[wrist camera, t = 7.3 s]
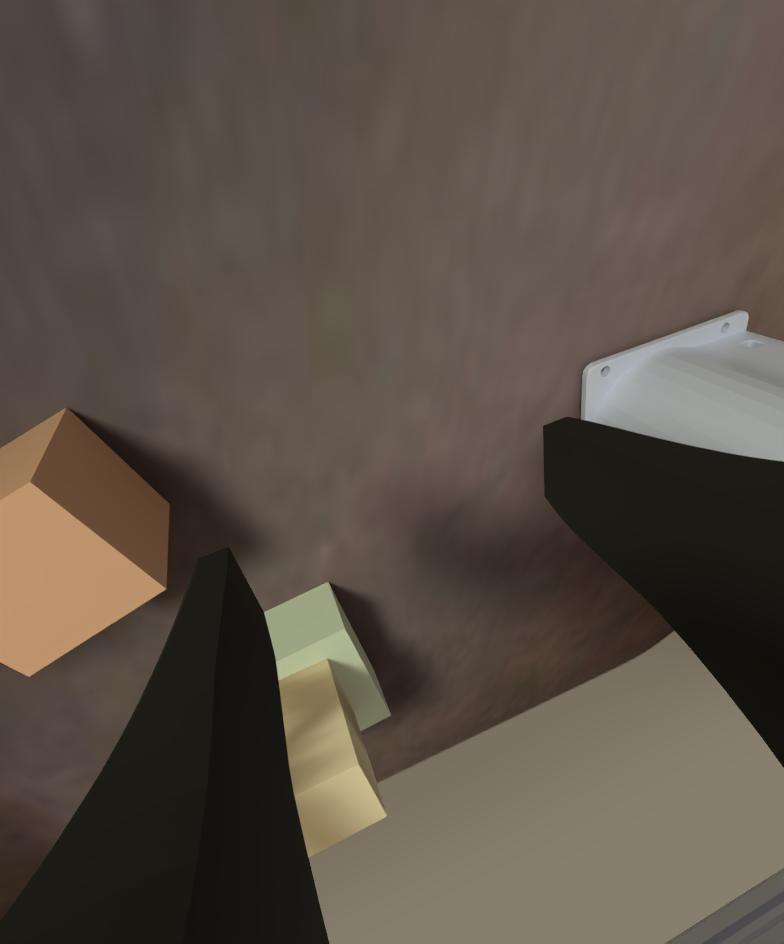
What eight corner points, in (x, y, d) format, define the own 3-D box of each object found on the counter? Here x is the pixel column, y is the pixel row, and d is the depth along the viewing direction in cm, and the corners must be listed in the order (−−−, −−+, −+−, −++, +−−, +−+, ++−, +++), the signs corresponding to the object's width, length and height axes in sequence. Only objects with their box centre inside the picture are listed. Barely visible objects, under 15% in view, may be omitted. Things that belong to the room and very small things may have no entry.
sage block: (326, 576, 25) (344, 628, 22) (371, 663, 29) (391, 715, 27) (172, 648, 24) (171, 713, 21) (244, 727, 28) (251, 788, 25)
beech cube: (326, 658, 22) (358, 763, 18) (354, 714, 25) (387, 816, 21) (220, 706, 22) (228, 828, 18) (261, 758, 24) (276, 874, 20)
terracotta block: (67, 406, 16) (30, 481, 12) (169, 503, 19) (166, 589, 15) (-63, 487, 16) (-143, 589, 12) (61, 572, 19) (28, 676, 15)
